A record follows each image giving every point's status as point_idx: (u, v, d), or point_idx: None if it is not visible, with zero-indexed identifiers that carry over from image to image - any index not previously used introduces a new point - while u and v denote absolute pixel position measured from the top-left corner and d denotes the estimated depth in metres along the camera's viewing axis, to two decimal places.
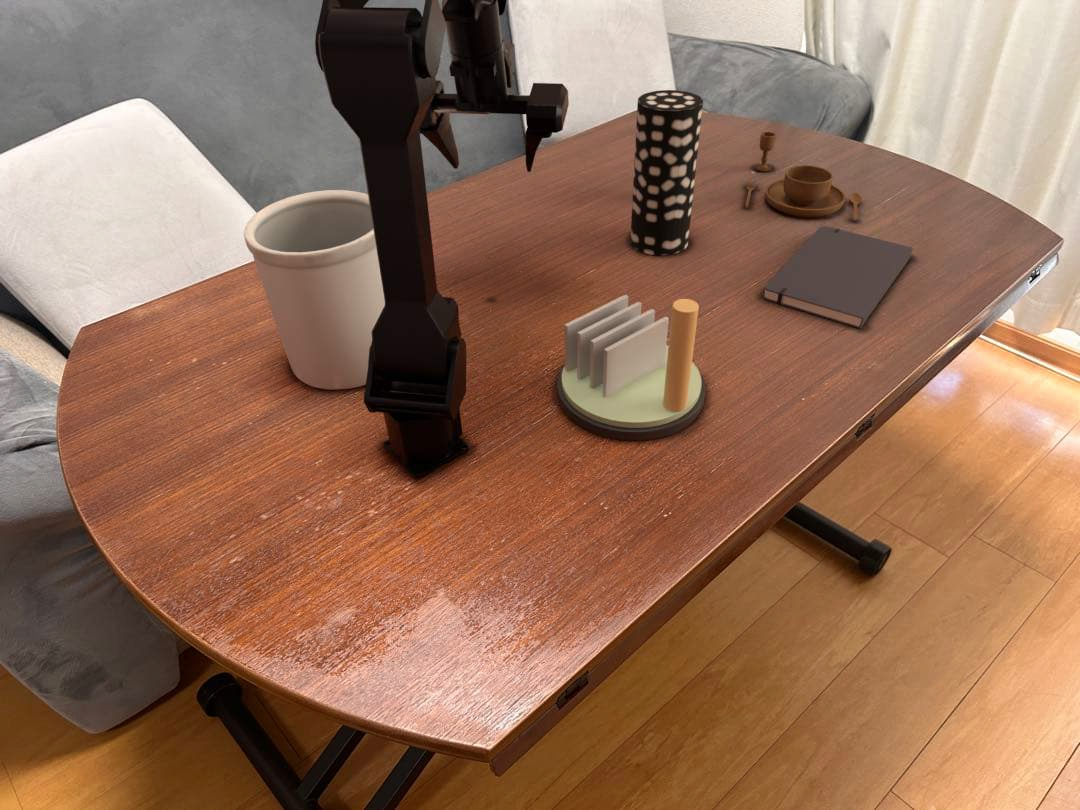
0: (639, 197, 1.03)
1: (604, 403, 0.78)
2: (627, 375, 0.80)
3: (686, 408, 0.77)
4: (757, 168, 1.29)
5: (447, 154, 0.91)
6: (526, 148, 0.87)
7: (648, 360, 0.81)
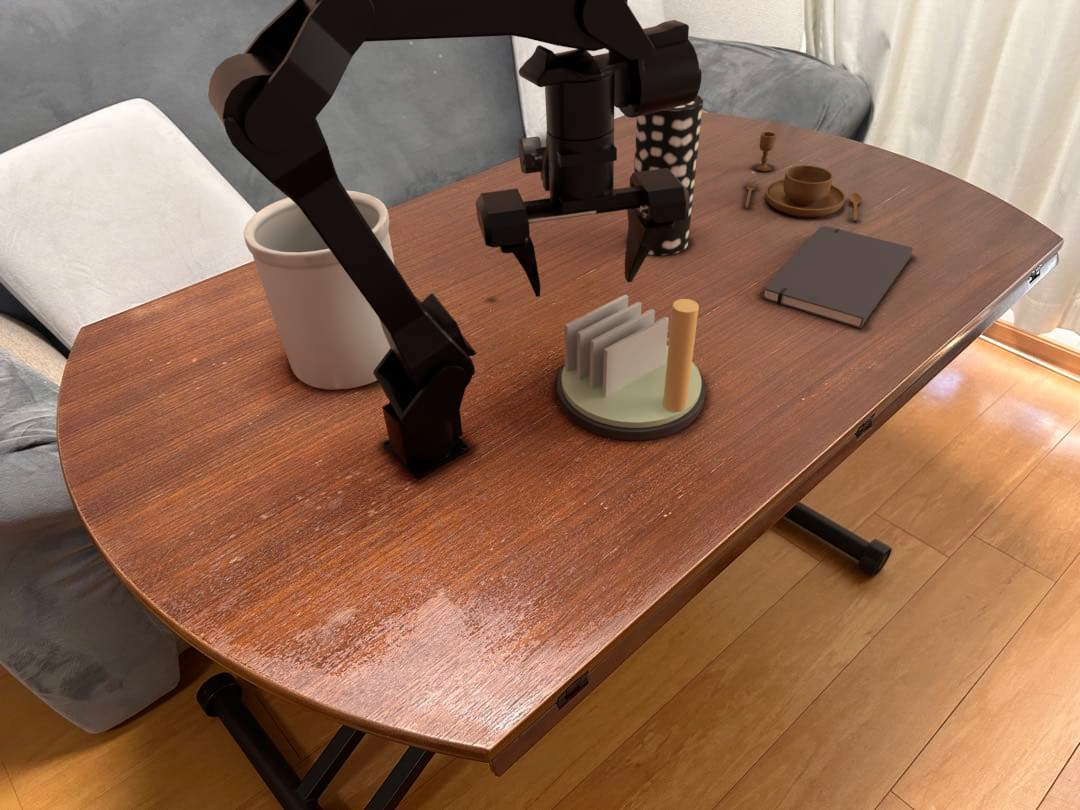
0: None
1: (604, 403, 0.78)
2: (627, 375, 0.80)
3: (686, 408, 0.77)
4: (757, 168, 1.29)
5: (535, 277, 0.71)
6: (639, 249, 0.70)
7: (648, 360, 0.81)
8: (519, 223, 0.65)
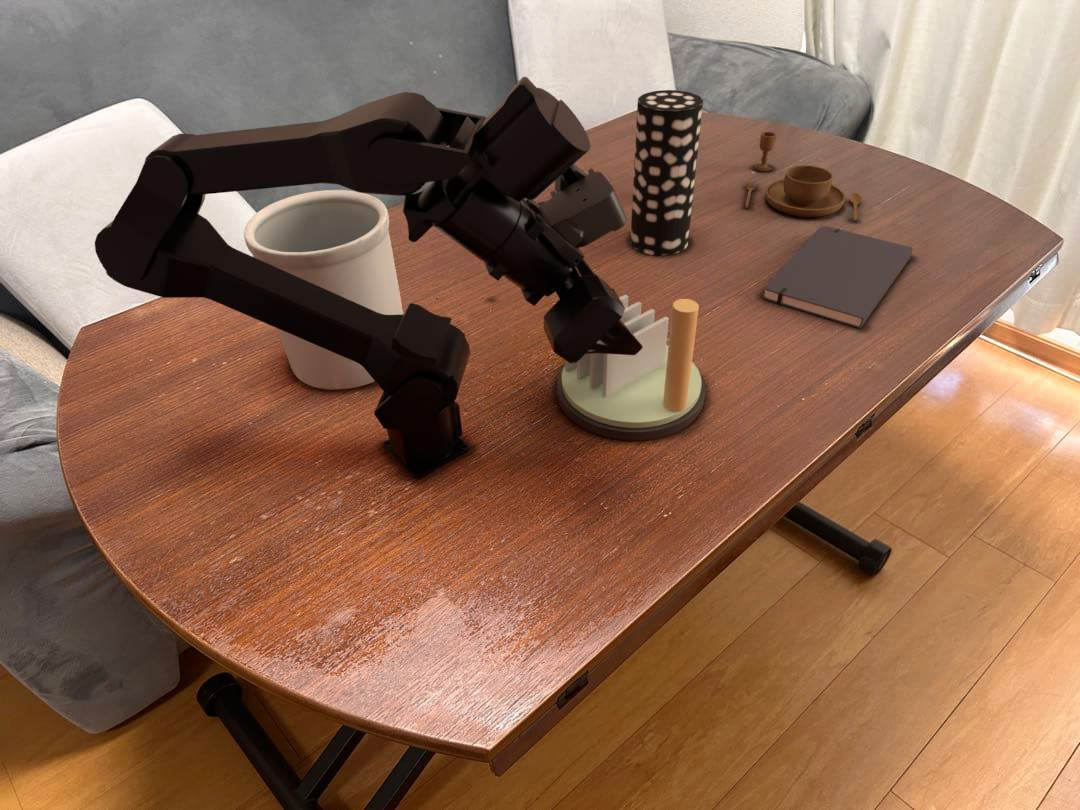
0: (639, 197, 1.03)
1: (604, 403, 0.78)
2: (627, 375, 0.80)
3: (686, 408, 0.77)
4: (757, 168, 1.29)
5: None
6: None
7: (648, 360, 0.81)
8: None
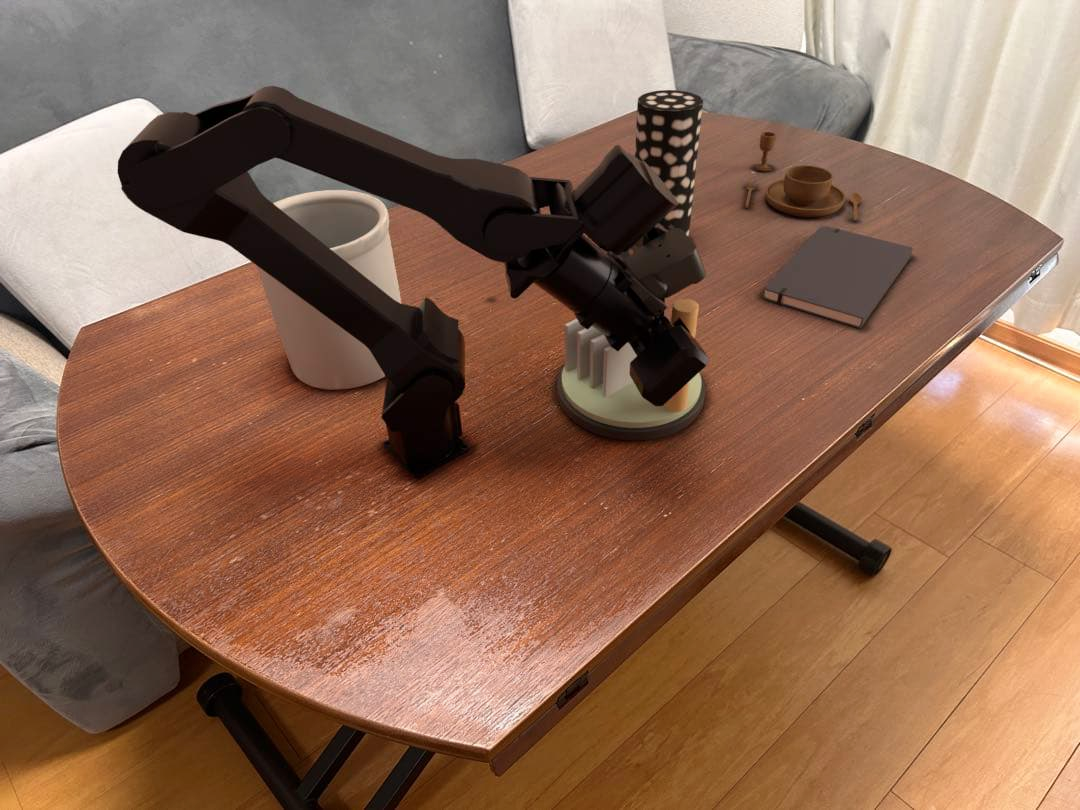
0: None
1: (604, 403, 0.78)
2: (627, 375, 0.80)
3: (686, 408, 0.77)
4: (757, 168, 1.29)
5: None
6: None
7: None
8: None
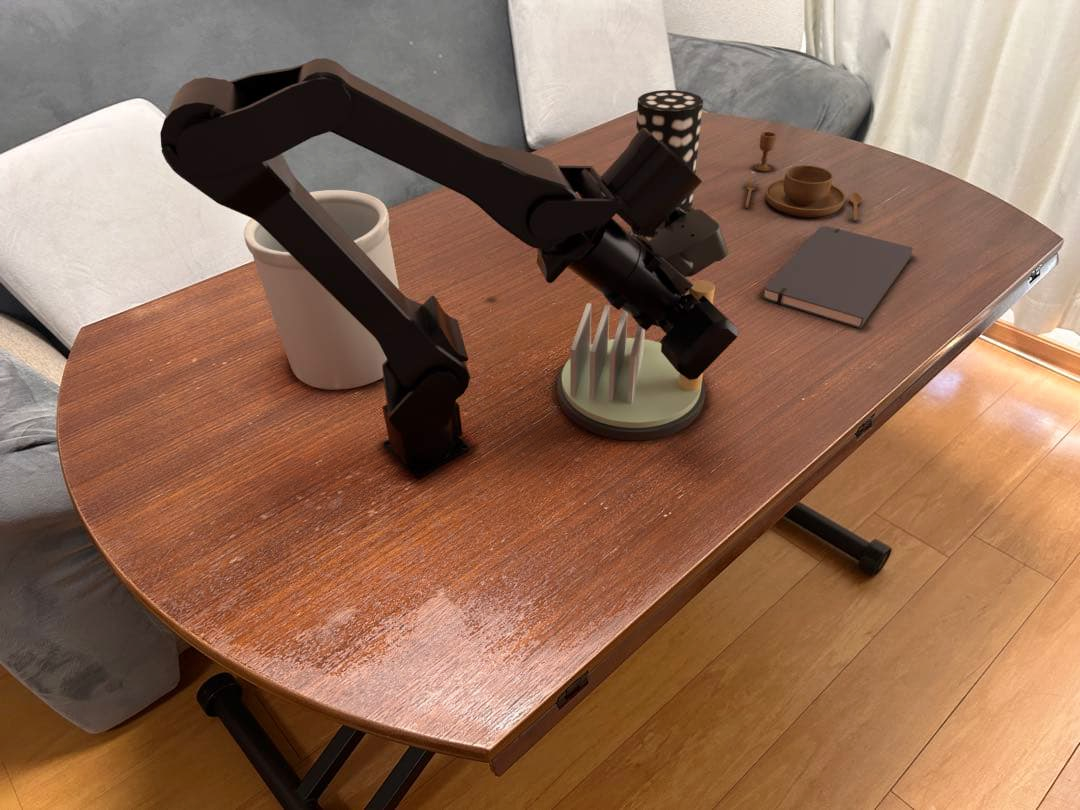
0: None
1: (636, 408, 0.77)
2: (636, 375, 0.80)
3: None
4: (757, 168, 1.29)
5: None
6: None
7: (641, 355, 0.82)
8: None
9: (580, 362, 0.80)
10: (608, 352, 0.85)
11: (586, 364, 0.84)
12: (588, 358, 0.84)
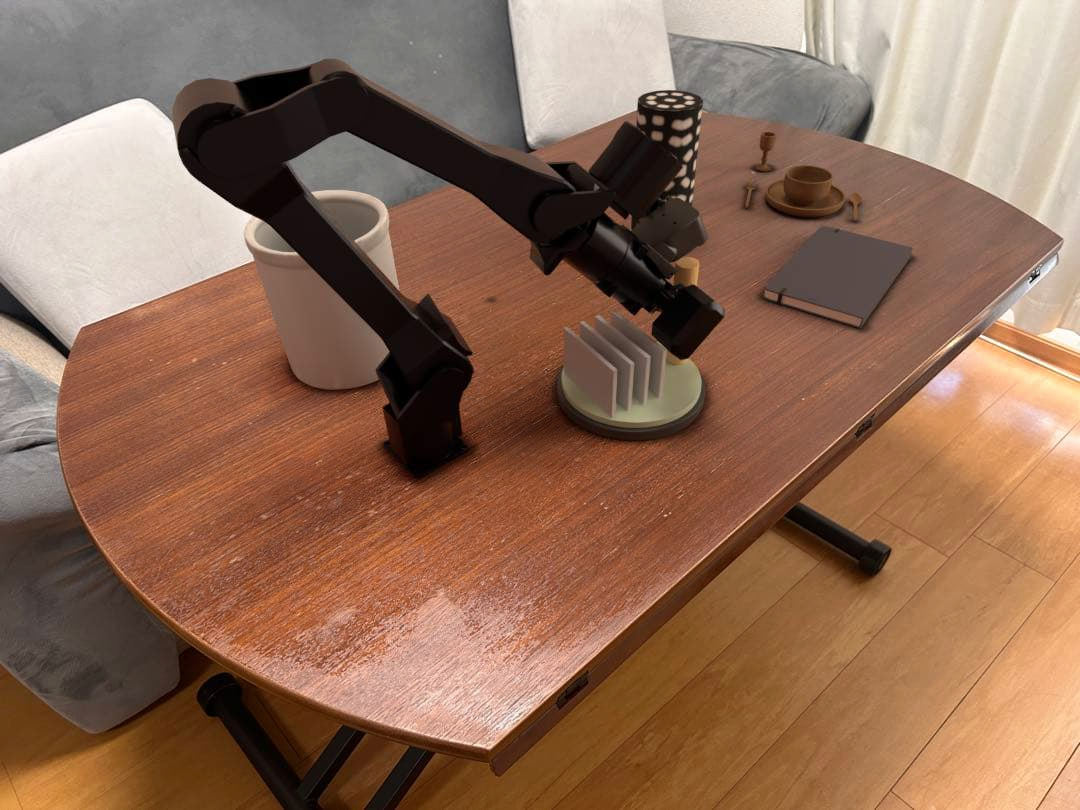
0: None
1: (671, 398, 0.79)
2: None
3: None
4: (757, 168, 1.29)
5: None
6: None
7: None
8: None
9: None
10: None
11: None
12: None
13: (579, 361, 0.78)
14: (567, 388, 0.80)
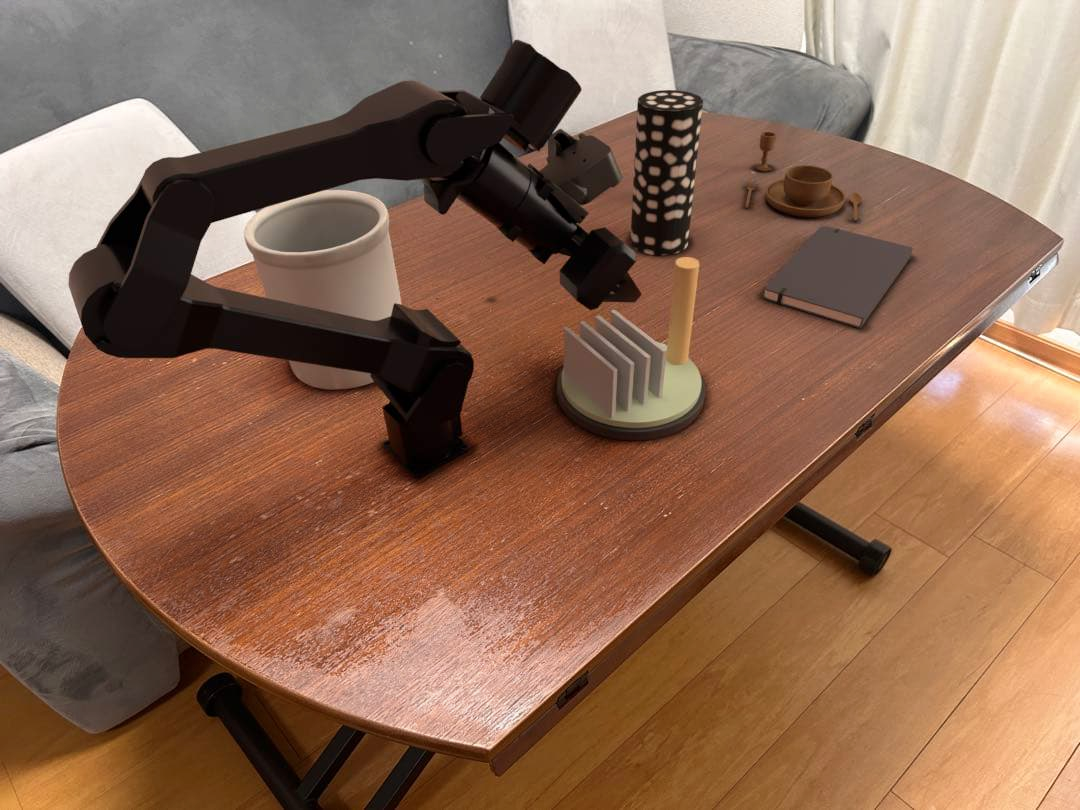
0: (639, 197, 1.03)
1: (671, 398, 0.79)
2: None
3: None
4: (757, 168, 1.29)
5: None
6: None
7: None
8: None
9: None
10: None
11: None
12: None
13: (579, 361, 0.78)
14: (567, 388, 0.80)
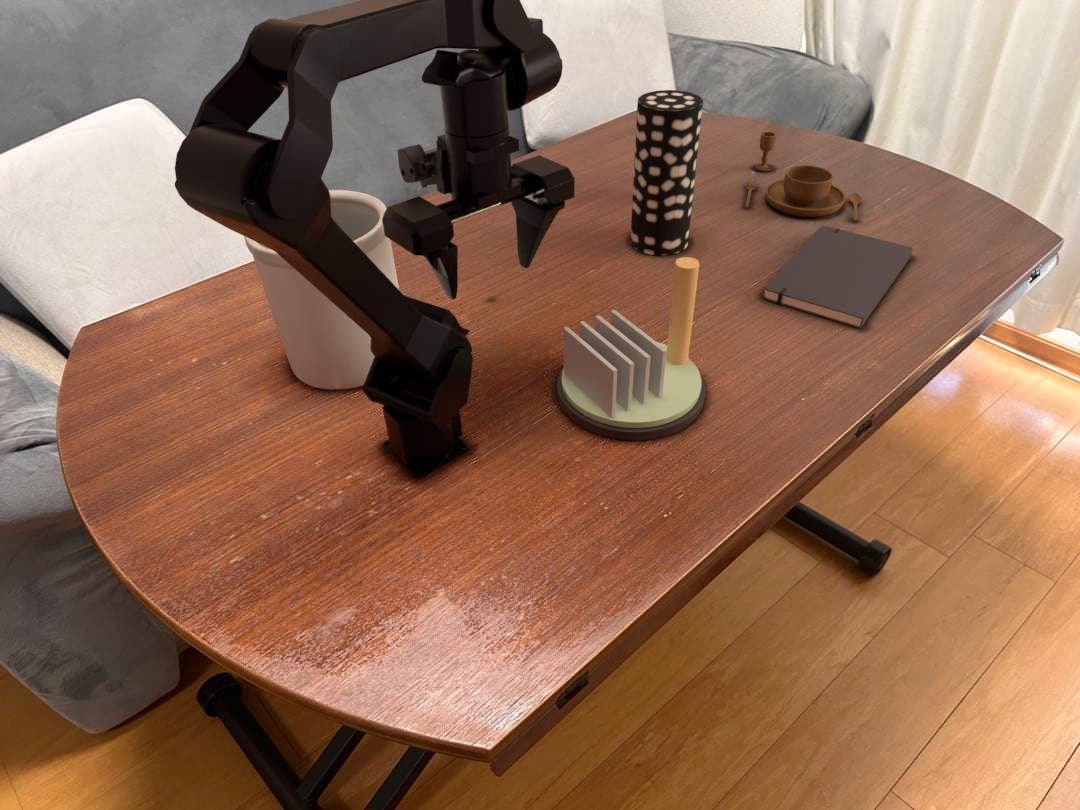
0: (639, 197, 1.03)
1: (671, 398, 0.79)
2: None
3: None
4: (757, 168, 1.29)
5: (454, 279, 0.71)
6: (538, 232, 0.75)
7: None
8: (444, 227, 0.66)
9: None
10: None
11: None
12: None
13: (579, 361, 0.78)
14: (567, 388, 0.80)
